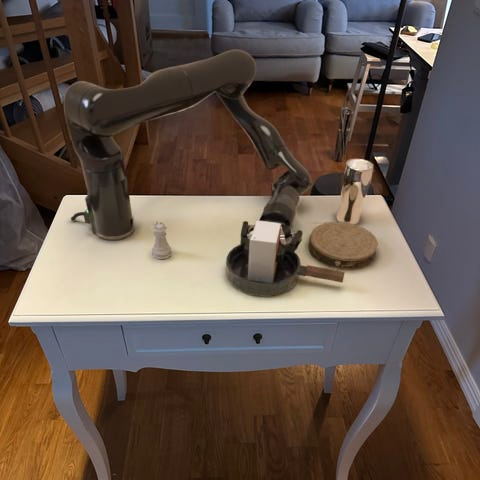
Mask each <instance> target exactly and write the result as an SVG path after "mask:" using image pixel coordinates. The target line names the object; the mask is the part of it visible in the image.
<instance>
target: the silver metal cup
mask: <svg viewBox="0 0 480 480" xmlns="http://www.w3.org/2000/svg"><path fill="white" fill-rule="evenodd" d="M373 170H374V164H373V163H372V162H371V161H369V160H366V159H364V158H350V159H348V160H347V161H346V162H345V166H344V170H343V173H342V176H341V183H340V204H339V209H338V211H337V213H336V217H335V218H336V221H337V222H347V223H351V224H356V225H358V223H359V222H360V220H361V209H362V207H363V203H364V201H365V199H366V197H367V194H368V192H369V189H370V185H371V182H372V177H373V172H374V171H373Z"/></svg>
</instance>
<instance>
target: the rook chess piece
mask: <svg viewBox="0 0 480 480" xmlns="http://www.w3.org/2000/svg"><path fill="white" fill-rule="evenodd" d="M152 225H153V226H152V227H151V230H152V231H153V236H154V244H153V247H152V256H153V257H154V258H155V259H157V260H166V259H168V258H170V257H171V256H172V253H173V251H172V247H171V245H169V243H168V240H167V232H166V231H167V230H168V227H167V226H166V223H165V222H163V221H156V222H155V223H153V224H152Z"/></svg>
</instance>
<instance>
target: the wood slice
mask: <svg viewBox="0 0 480 480" xmlns="http://www.w3.org/2000/svg"><path fill="white" fill-rule="evenodd" d="M378 246H379V242H378V239H377V237H376V236H375V235H374V234H373V233H372V232H371V231H369V230H368V229H367V228H366V227H363V226H360V225H358V224H351V223H347V222H339V221H329V222H328V221H327V222H324V223H322V224H319V225H317V226H316V227H314V228H312V230H311V232H310V234H309V239H308V252H309V253H310V255H311V256H312V258H314V260H316V261H318V263H321V264H322V265H325V266H326V267H329V268H332V269H335V270H336V269H337V270H341V271H343V270H345V271H353V270H361V269H363V268H365V267H368V266H370V265H371V264H372V263H373V261H374V260H375V257H376V253H377V249H378Z"/></svg>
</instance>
